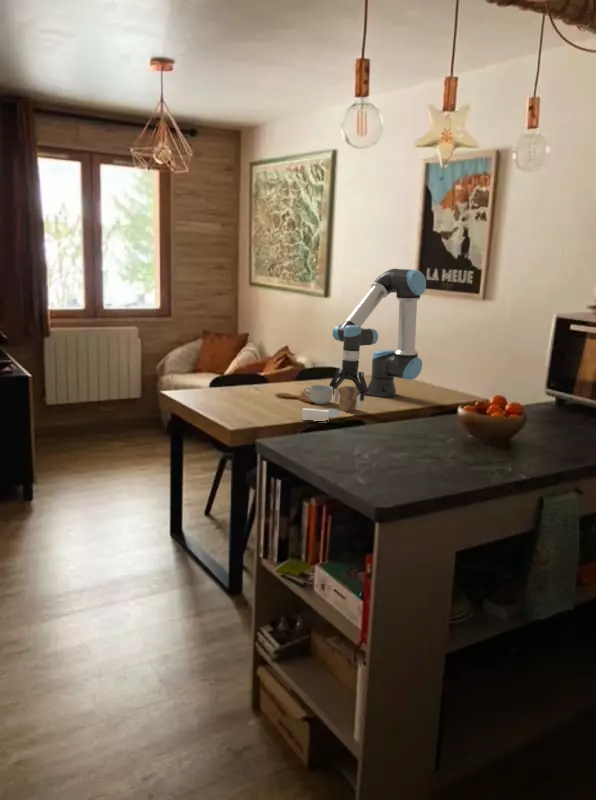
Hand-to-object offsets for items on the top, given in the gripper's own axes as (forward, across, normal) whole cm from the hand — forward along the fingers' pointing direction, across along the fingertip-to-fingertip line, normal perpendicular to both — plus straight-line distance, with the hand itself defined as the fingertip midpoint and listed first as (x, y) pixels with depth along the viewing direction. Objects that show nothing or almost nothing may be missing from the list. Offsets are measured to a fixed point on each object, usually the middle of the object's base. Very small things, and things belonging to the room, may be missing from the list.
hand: (347, 404), depth 313 cm
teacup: (+3, -19, +2) cm, 19 cm away
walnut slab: (+2, 0, 0) cm, 3 cm away
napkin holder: (+4, +2, -27) cm, 27 cm away
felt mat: (+3, 0, -11) cm, 11 cm away
